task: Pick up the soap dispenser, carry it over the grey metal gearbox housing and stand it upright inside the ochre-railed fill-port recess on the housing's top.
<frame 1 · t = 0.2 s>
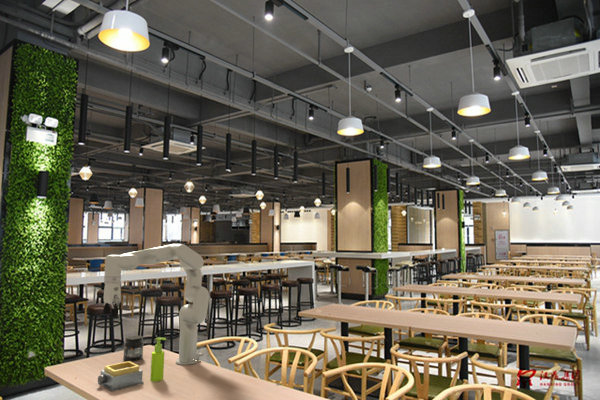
hand: (110, 315, 202), 31 cm above the table, tool pointing down, fingers open, 9 cm apart
gearbox housing: (121, 383, 196), on the table
supplement container: (133, 359, 236), on the table
soap dispenser: (157, 380, 202), on the table
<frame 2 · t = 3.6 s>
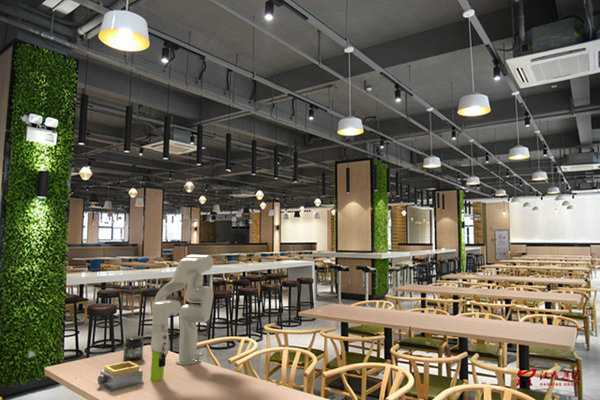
hand: (158, 364, 202), 7 cm above the table, tool pointing down, fingers closed on soap dispenser, 6 cm apart
soap dispenser: (157, 380, 202), on the table, touching gripper
everything else where it was.
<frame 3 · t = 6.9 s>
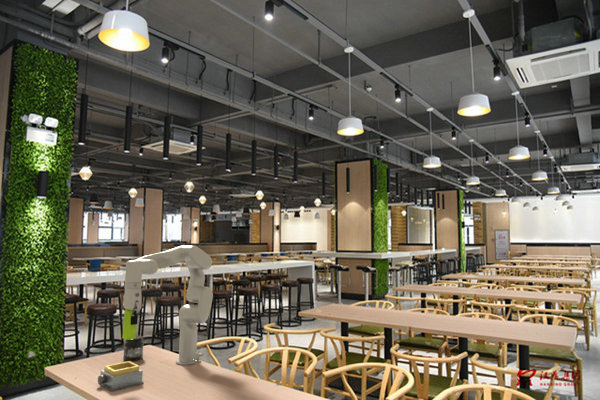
hand: (130, 323, 199), 28 cm above the table, tool pointing down, fingers closed on soap dispenser, 6 cm apart
soap dispenser: (129, 338, 199), point 21 cm above the table, touching gripper
everything else where it was.
when the fingers open (14 cm above the table, at t = 10.1 s): soap dispenser drops 1 cm, resting on gearbox housing.
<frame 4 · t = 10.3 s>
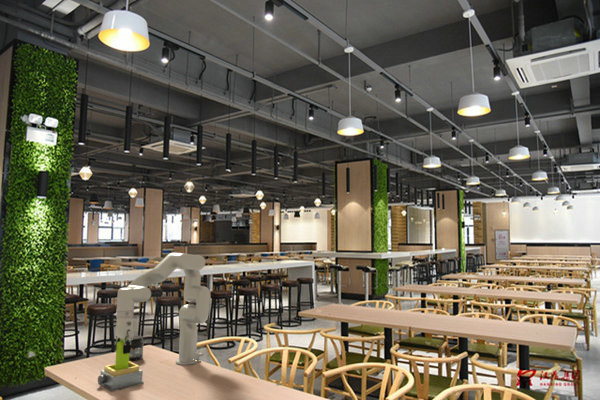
hand: (122, 351, 197), 15 cm above the table, tool pointing down, fingers open, 7 cm apart
soap dispenser: (122, 370, 196), point 6 cm above the table, touching gearbox housing
everything else where it was.
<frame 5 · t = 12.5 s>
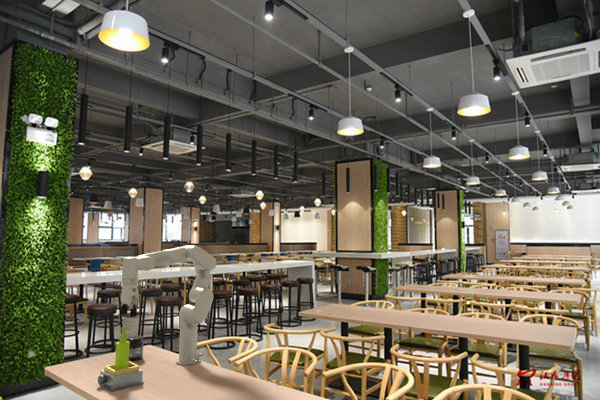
hand: (128, 315, 209), 30 cm above the table, tool pointing down, fingers open, 9 cm apart
nothing on the table moved.
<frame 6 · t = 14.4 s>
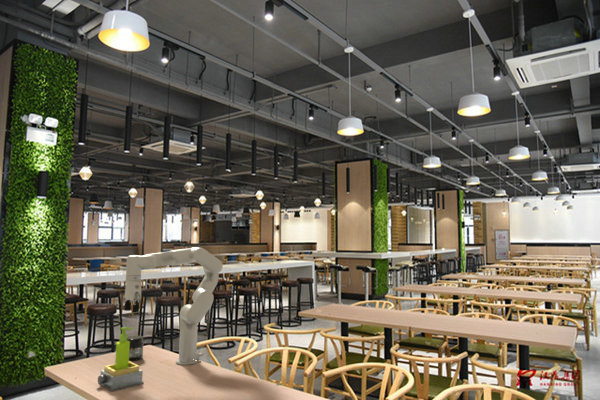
hand: (131, 311, 218), 30 cm above the table, tool pointing down, fingers open, 9 cm apart
nothing on the table moved.
at the end: soap dispenser inside the target area on the gearbox housing (0.4 cm from its centre), point 5.8 cm above the gearbox housing's base; soap dispenser tilted 0°; the gripper is holding nothing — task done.
